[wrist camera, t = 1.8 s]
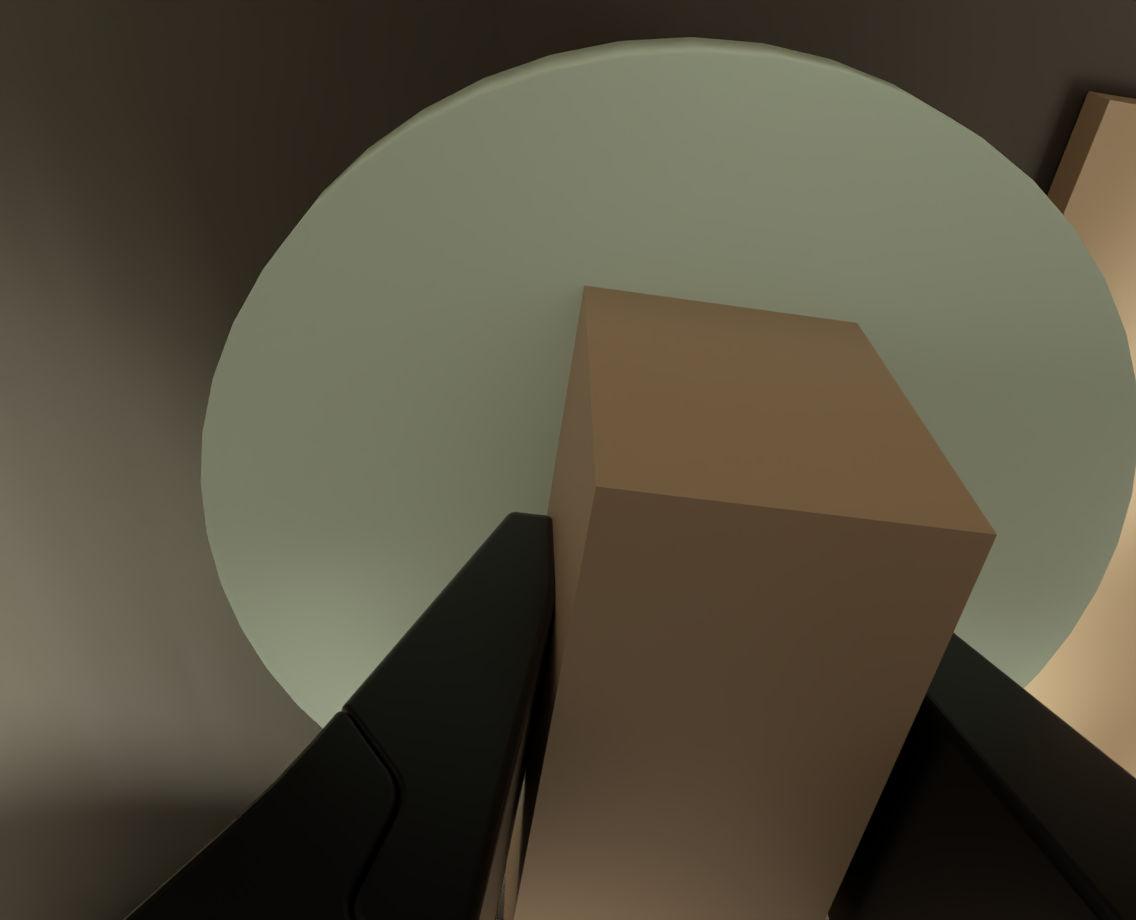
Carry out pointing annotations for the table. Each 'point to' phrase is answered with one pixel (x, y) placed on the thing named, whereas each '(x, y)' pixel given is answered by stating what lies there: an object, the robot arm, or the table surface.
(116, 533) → the table surface
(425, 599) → the cover
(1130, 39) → the table surface
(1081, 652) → the mat
